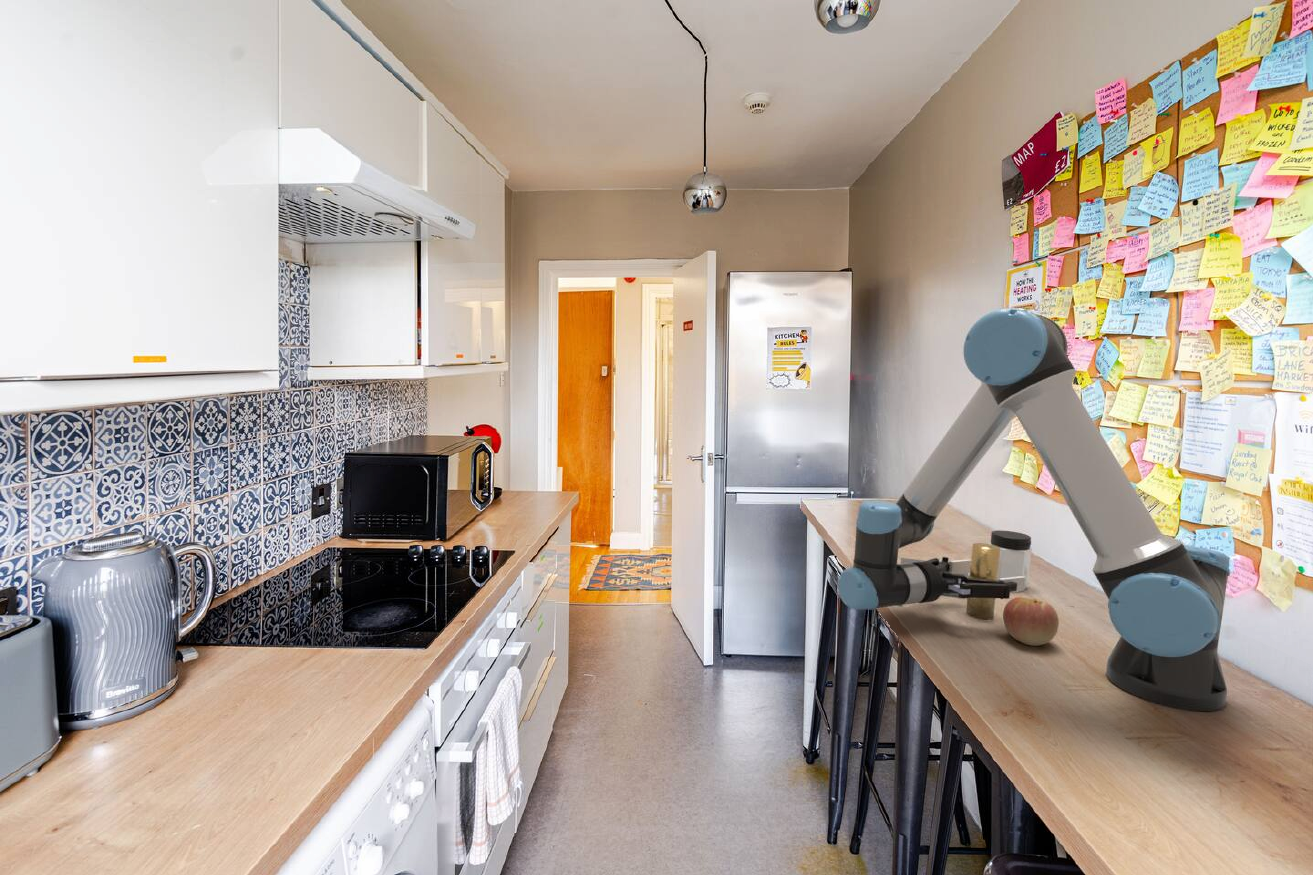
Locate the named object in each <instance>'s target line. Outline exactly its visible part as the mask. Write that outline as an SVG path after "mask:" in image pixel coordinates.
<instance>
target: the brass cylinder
mask: <svg viewBox="0 0 1313 875" xmlns="http://www.w3.org/2000/svg"><path fill="white" fill-rule="evenodd" d="M1000 549H1001V548H1000V547H998V546H995V545H991V544H989V543H982V542H975V543H974V542H973V543H972V549H971V558H970V559H971V566H970V573H969V578H977V579H987V580H997V578H998V568H999V558H1000ZM995 604H996V598H966V607H965V613H966V614H967V615H968V616H970V617H973V618H977V619H980V620H992V619H993V618H994V614H995V613H994V612H995Z"/></svg>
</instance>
